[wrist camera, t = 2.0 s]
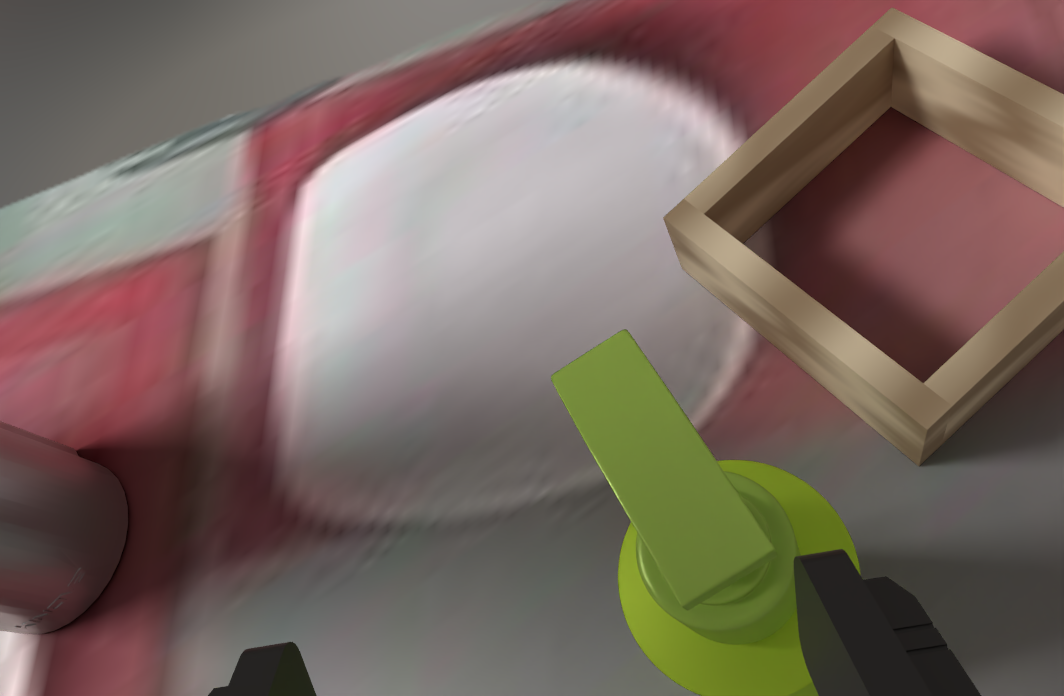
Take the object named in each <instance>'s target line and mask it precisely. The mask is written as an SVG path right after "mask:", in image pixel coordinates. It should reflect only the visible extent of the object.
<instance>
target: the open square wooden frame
mask: <svg viewBox="0 0 1064 696" xmlns="http://www.w3.org/2000/svg"><path fill="white" fill-rule="evenodd" d="M890 107H892V108H894V109H895V110H897V111H899V112H901V113H902V114H904V115H906V116H907V117H909V118H911V119H913V120H914V121H916V122H918V123H920V124H921V125H923V126H925V127H926V128H928V129H930V130H932V131H933V132H935V133H937V134H938V135H940V136H942V137H944V138H945V139H947V140H949V141H950V142H952V143H954V144H956V145H957V146H959V147H961V148H962V149H964V150H966V151H968V152H969V153H971V154H973V155H974V156H976V157H978V158H980V159H981V160H983V161H985V162H986V163H988V164H990V165H992V166H993V167H995V168H997V169H998V170H1000V171H1002V172H1004V173H1005V174H1007V175H1009V176H1010V177H1012V178H1014V179H1016V180H1017V181H1019V182H1021V183H1022V184H1024V185H1026V186H1028V187H1029V188H1031V189H1033V190H1034V191H1036V192H1038V193H1040V194H1041V195H1043V196H1045V197H1046V198H1048V199H1050V200H1052V201H1053V202H1055V203H1057V204H1059V205H1060V206H1062V207H1064V94H1062V93H1060V92H1058V91H1056V90H1054V89H1052V88H1050V87H1048V86H1046V85H1044V84H1042V83H1040V82H1038V81H1036V80H1034V79H1032V78H1030V77H1028V76H1026V75H1024V74H1022V73H1020V72H1018V71H1016V70H1014V69H1012V68H1010V67H1009V66H1007V65H1005V64H1003V63H1001V62H999V61H997V60H995V59H993V58H991V57H989V56H987V55H985V54H983V53H981V52H979V51H977V50H975V49H973V48H971V47H969V46H967V45H965V44H963V43H961V42H959V41H957V40H955V39H953V38H951V37H949V36H947V35H945V34H944V33H942V32H940V31H938V30H936V29H934V28H932V27H930V26H928V25H926V24H924V23H922V22H920V21H918V20H916V19H914V18H912V17H910V16H908V15H906V14H904V13H902V12H900V11H898V10H896V9H894V8H891V9H890V10H889V11H887V12H886V13H885V14H884V15H883V16H882V17H881V18H880V19H879V20H878V21H877V22H875V23H874V24H873V25H872V26H871V27H870V28H869V29H868V30H867V31H866V32H865V33H864V34H862V35H861V36H860V37H859V38H858V39H857V40H856V41H855V42H854V43H853V44H852V45H850V46H849V47H848V48H847V49H846V50H845V51H844V52H843V53H842V54H841V55H840V56H839V57H837V58H836V59H835V60H834V61H833V62H832V63H831V64H830V65H829V66H828V67H827V68H826V69H824V70H823V71H822V72H821V73H820V74H819V75H818V76H817V77H816V78H815V79H814V80H812V81H811V82H810V83H809V84H808V85H807V86H806V87H805V88H804V89H803V90H802V91H801V92H799V93H798V94H797V95H796V96H795V97H794V98H793V99H792V100H791V101H790V102H789V103H787V104H786V105H785V106H784V107H783V108H782V109H781V110H780V111H779V112H778V113H777V114H776V115H774V116H773V117H772V118H771V119H770V120H769V121H768V122H767V123H766V124H765V125H764V126H762V127H761V128H760V129H759V130H758V131H757V132H756V133H755V134H754V135H753V136H752V137H751V138H749V139H748V140H747V141H746V142H745V143H744V144H743V145H742V146H741V147H740V148H739V149H737V150H736V151H735V152H734V153H733V154H732V155H731V156H730V157H729V158H728V159H727V160H726V161H724V162H723V163H722V164H721V165H720V166H719V167H718V168H717V169H716V170H715V171H714V172H712V173H711V174H710V175H709V176H708V177H707V178H706V179H705V180H704V181H703V182H702V183H701V184H699V185H698V186H697V187H696V188H695V189H694V190H693V191H692V192H691V193H690V194H689V195H687V196H686V197H685V198H684V199H683V200H682V201H681V202H680V203H679V204H678V205H677V206H676V207H674V208H673V209H672V210H671V211H670V212H669V213H668V214H667V215H666V216H665V217H664V221H665V224H666V227H667V229H668V232H669V235H670V237H671V240H672V243H673V245H674V248H675V251H676V254H677V256H678V259H679V262H680V264H681V267H682V269H683V270H684V271H686V272H687V273H688V274H689V275H690V276H692V277H693V278H694V279H695V280H696V281H698V282H699V283H700V284H701V285H702V286H703V287H705V288H706V289H707V290H708V291H709V292H711V293H712V294H713V295H714V296H715V297H717V298H718V299H719V300H720V301H721V302H723V303H724V304H725V305H726V306H727V307H729V308H730V309H731V310H732V311H733V312H735V313H736V314H737V315H738V316H739V317H741V318H742V319H743V320H744V321H745V322H747V323H748V324H749V325H750V326H751V327H753V328H754V329H755V330H756V331H757V332H759V333H760V334H761V335H762V336H763V337H765V338H766V339H767V340H768V341H769V342H771V343H772V344H773V345H774V346H775V347H777V348H778V349H779V350H780V351H781V352H783V353H784V354H785V355H786V356H787V357H788V358H790V359H791V360H792V361H793V362H794V363H796V364H797V365H798V366H799V367H800V368H802V369H803V370H804V371H805V372H806V373H808V374H809V375H810V376H811V377H812V378H814V379H815V380H816V381H817V382H818V383H820V384H821V385H822V386H823V387H824V388H826V389H827V390H828V391H829V392H830V393H832V394H833V395H834V396H835V397H836V398H838V399H839V400H840V401H841V402H842V403H844V404H845V405H846V406H847V407H848V408H850V409H851V410H852V411H853V412H854V413H856V414H857V415H858V416H859V417H860V418H862V419H863V420H864V421H865V422H866V423H868V424H869V425H870V426H871V427H872V428H873V429H875V430H876V431H877V432H878V433H879V434H881V435H882V436H883V437H884V438H885V439H887V440H888V441H889V442H890V443H891V444H893V445H894V446H895V447H896V448H897V449H899V450H900V451H901V452H902V453H903V454H905V455H906V456H907V457H908V458H909V459H911V460H912V461H913V462H914V463H915V464H917V465H918V466H920V465H921V464H922V463H923V462H924V461H925V460H926V459H927V458H928V457H929V456H930V455H932V454H933V453H934V452H935V451H936V450H937V449H938V448H939V447H940V446H941V445H942V444H943V443H944V442H945V441H946V440H947V439H948V438H950V437H951V436H952V435H953V434H954V433H955V432H956V431H957V430H958V429H959V428H960V427H961V426H962V425H963V424H964V423H965V422H966V421H968V420H969V419H970V418H971V417H972V416H973V415H974V414H975V413H976V412H977V411H978V410H979V409H980V408H981V407H982V406H983V405H984V404H986V403H987V402H988V401H989V400H990V399H991V398H992V397H993V396H994V395H995V394H996V393H997V392H998V391H999V390H1000V389H1001V388H1002V387H1003V386H1005V385H1006V384H1007V383H1008V382H1009V381H1010V380H1011V379H1012V378H1013V377H1014V376H1015V375H1016V374H1017V373H1018V372H1019V371H1020V370H1021V369H1023V368H1024V367H1025V366H1026V365H1027V364H1028V363H1029V362H1030V361H1031V360H1032V359H1033V358H1034V357H1035V356H1036V355H1037V354H1038V353H1039V352H1041V351H1042V350H1043V349H1044V348H1045V347H1046V346H1047V345H1048V344H1049V343H1050V342H1051V341H1052V340H1053V339H1054V338H1055V337H1056V336H1057V335H1059V334H1060V333H1061V332H1062V331H1063V330H1064V252H1063V253H1061V254H1060V255H1059V256H1058V257H1057V258H1056V259H1055V260H1054V261H1053V262H1052V263H1051V264H1050V265H1049V266H1048V267H1047V268H1046V269H1044V270H1043V271H1042V272H1041V273H1040V274H1039V275H1038V276H1037V277H1036V278H1035V279H1034V280H1033V281H1032V282H1031V283H1030V284H1029V285H1027V286H1026V287H1025V288H1024V289H1023V290H1022V291H1021V292H1020V293H1019V294H1018V295H1017V296H1016V297H1015V298H1014V299H1013V300H1012V301H1010V302H1009V303H1008V304H1007V305H1006V306H1005V307H1004V308H1003V309H1002V310H1001V311H1000V312H999V313H998V314H997V315H996V316H994V317H993V318H992V319H991V320H990V321H989V322H988V323H987V324H986V325H985V326H984V327H983V328H982V329H981V330H980V331H979V332H977V333H976V334H975V335H974V336H973V337H972V338H971V339H970V340H969V341H968V342H967V343H966V344H965V345H964V346H963V347H962V348H960V349H959V350H958V351H957V352H956V353H955V354H954V355H953V356H952V357H951V358H950V359H949V360H948V361H947V362H946V363H945V364H943V365H942V366H941V367H940V368H939V369H938V370H937V371H936V372H935V373H934V374H933V375H932V376H931V377H930V378H929V379H928V380H926V381H925V382H924V383H922V382H921V381H919V380H918V379H917V378H916V377H914V376H913V375H912V374H910V373H909V372H908V371H907V370H905V369H904V368H903V367H901V366H900V365H899V364H897V363H896V362H895V361H894V360H892V359H891V358H890V357H888V356H887V355H886V354H884V353H883V352H882V351H881V350H879V349H878V348H877V347H875V346H874V345H873V344H872V343H870V342H869V341H868V340H866V339H865V338H864V337H862V336H861V335H860V334H859V333H857V332H856V331H855V330H853V329H852V328H851V327H849V326H848V325H847V324H846V323H844V322H843V321H842V320H840V319H839V318H838V317H837V316H835V315H834V314H833V313H831V312H830V311H829V310H827V309H826V308H825V307H824V306H822V305H821V304H820V303H818V302H817V301H816V300H815V299H813V298H812V297H811V296H809V295H808V294H807V293H805V292H804V291H803V290H802V289H800V288H799V287H798V286H796V285H795V284H794V283H792V282H791V281H790V280H789V279H787V278H786V277H785V276H783V275H782V274H781V273H780V272H778V271H777V270H776V269H774V268H773V267H772V266H770V265H769V264H768V263H767V262H765V261H764V260H763V259H761V258H760V257H759V256H757V255H756V254H755V253H754V252H752V251H751V250H750V249H748V248H747V247H746V246H745V245H743V243H744V242H745V241H746V240H747V239H749V238H750V237H751V236H752V235H753V234H754V233H755V232H756V231H757V230H758V229H759V228H760V227H761V226H763V225H764V224H765V223H766V222H767V221H768V220H769V219H770V218H771V217H772V216H773V215H774V214H776V213H777V212H778V211H779V210H780V209H781V208H782V207H783V206H784V205H785V204H786V203H787V202H789V201H790V200H791V199H792V198H793V197H794V196H795V195H796V194H797V193H798V192H799V191H800V190H801V189H803V188H804V187H805V186H806V185H807V184H808V183H809V182H810V181H811V180H812V179H813V178H814V177H816V176H817V175H818V174H819V173H820V172H821V171H822V170H823V169H824V168H825V167H826V166H827V165H828V164H830V163H831V162H832V161H833V160H834V159H835V158H836V157H837V156H838V155H839V154H840V153H841V152H843V151H844V150H845V149H846V148H847V147H848V146H849V145H850V144H851V143H852V142H853V141H854V140H856V139H857V138H858V137H859V136H860V135H861V134H862V133H863V132H864V131H865V130H866V129H867V128H868V127H870V126H871V125H872V124H873V123H874V122H875V121H876V120H877V119H878V118H879V117H880V116H881V115H883V114H884V113H885V112H886V111H887V110H888V109H889V108H890Z"/></svg>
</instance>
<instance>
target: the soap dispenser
mask: <svg viewBox="0 0 1064 696" xmlns="http://www.w3.org/2000/svg"><path fill="white" fill-rule="evenodd" d="M551 380H552V382H553V384H554V386H555V388H556V390H557V392H558V394H559V396H560V398H561V399H562V401H563V403H564V405H565V407H566V408H567V410H568V412H569V414H570V416H571V418H572V419H573V421H574V423H575V425H576V427H577V429H578V430H579V432H580V434H581V436H582V438H583V439H584V441H585V443H586V445H587V446H588V448H589V450H590V452H591V454H592V455H593V457H594V459H595V461H596V462H597V464H598V466H599V467H600V469H601V471H602V473H603V474H604V476H605V478H606V480H607V481H608V483H609V485H610V486H611V488H612V490H613V492H614V493H615V495H616V497H617V498H618V500H619V502H620V504H621V505H622V507H623V509H624V510H625V512H626V514H627V515H628V517H629V519H630V521H631V523H630V525H629V527H628V530H627V532H626V535H625V537H624V540H623V544H622V548H621V552H620V557H619V566H618V587H619V595H620V601H621V605H622V609H623V613H624V616H625V619H626V621H627V624H628V626H629V628H630V631H631V633H632V635H633V636H634V638H635V640H636V642H637V643H638V645H639V646H640V648H641V649H642V651H643V652H644V653H645V655H646V656H647V657H648V658H649V659H650V661H651V662H652V663H653V664H654V665H655V666H656V667H657V668H658V669H659V670H660V671H662V672H663V673H664V674H665V675H666V676H668V677H669V678H670V679H672V680H673V681H674V682H676V683H677V684H679V685H681V686H682V687H684V688H686V689H688V690H690V691H692V692H694V693H696V694H699V695H701V696H819V695H818V693H817V691H816V688H815V686H814V684H813V681H812V679H811V677H810V674H809V672H808V669H807V666H806V663H805V660H804V657H803V653H802V649H801V644H800V638H799V631H798V618H797V605H796V592H795V579H794V558H795V557H796V556H802V555H808V554H814V553H820V552H826V551H832V550H838V549H843V550H845V552H846V553H847V554H848V556H849V557H850V559H851V561H852V562H853V564H854V566H855V567H856V569H857V571H858V572H859V574H860V567H859V562H858V557H857V554H856V550H855V547H854V544H853V542H852V539H851V537H850V535H849V533H848V531H847V529H846V527H845V525H844V523H843V522H842V520H841V518H840V517H839V515H838V514H837V513H836V511H835V510H834V509H833V507H832V506H831V505H830V504H829V503H828V502H827V501H826V500H825V498H824V497H823V496H821V495H820V494H819V493H818V492H817V491H816V490H815V489H814V488H812V487H811V486H810V485H808V484H807V483H806V482H804V481H803V480H801V479H799V478H798V477H796V476H794V475H792V474H790V473H788V472H786V471H784V470H782V469H779V468H777V467H774V466H771V465H767V464H764V463H759V462H754V461H746V460H723V461H716V459H715V458H714V456H713V455H712V453H711V452H710V450H709V449H708V447H707V446H706V444H705V443H704V441H703V440H702V438H701V437H700V435H699V434H698V432H697V431H696V429H695V428H694V426H693V425H692V423H691V422H690V420H689V419H688V418H687V416H686V415H685V413H684V412H683V410H682V409H681V407H680V406H679V404H678V403H677V401H676V400H675V398H674V397H673V395H672V394H671V392H670V391H669V389H668V388H667V387H666V385H665V384H664V382H663V381H662V379H661V378H660V376H659V375H658V374H657V372H656V371H655V369H654V368H653V366H652V365H651V363H650V362H649V361H648V359H647V358H646V356H645V355H644V353H643V352H642V350H641V349H640V348H639V346H638V345H637V343H636V342H635V340H634V339H633V337H632V336H631V335H630V333H629V332H628V331H627V330H625V329H624V330H622V331H620V332H618V333H617V334H615V335H613V336H612V337H610V338H609V339H607V340H606V341H604V342H602V343H601V344H599V345H598V346H596V347H594V348H593V349H591V350H590V351H588V352H587V353H585V354H583V355H582V356H580V357H579V358H577V359H576V360H574V361H573V362H571V363H570V364H568V365H566V366H565V367H563V368H562V369H560V370H559V371H557V372H556V373H554V374H553V375H552V376H551ZM860 576H861V574H860Z"/></svg>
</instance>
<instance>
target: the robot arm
mask: <svg viewBox="0 0 1064 696" xmlns="http://www.w3.org/2000/svg"><path fill="white" fill-rule="evenodd" d="M127 528H128V505H127V501H126V497H125V492H124V490H123V488H122V486H121V484H120V482H119V480H118V479H117V477H116V476H115V475H114V474H113V473H112V472H111V471H110V470H109V469H107V468H105V467H104V466H102V465H100V464H98V463H95V462H93V461H90V460H87V459H84V458H82V457H79V456H78V454H77V452H76V450H75V449H74V448H71V447H68V446H66V445H63V444H60V443H57V442H55V441H52V440H49V439H47V438H44V437H41V436H39V435H36V434H33V433H31V432H28V431H25V430H23V429H20V428H17V427H15V426H12V425H9V424H6V423H4V422H1V421H0V631H7V632H15V633H23V634H43V633H47V632H51V631H55V630H57V629H59V628H61V627H63V626H65V625H67V624H69V623H70V622H72V621H73V620H74V619H76V618H77V617H78V616H79V615H81V614H82V613H83V612H85V611H86V610H87V609H88V607H89V606H90V605H91V604H92V603H93V602H94V601H95V600H96V599H97V598H98V597H99V595H100V594H101V592H102V591H103V589H104V588H105V587H106V585H107V584H108V582H109V581H110V579H111V577H112V575H113V573H114V571H115V569H116V567H117V565H118V563H119V560H120V557H121V554H122V551H123V548H124V545H125V541H126V534H127ZM794 579H795V592H796V605H797V618H798V631H799V638H800V644H801V649H802V653H803V657H804V660H805V663H806V666H807V669H808V672H809V674H810V677H811V679H812V681H813V684H814V686H815V688H816V691H817V693H818V695H819V696H981V695H980V693H979V692H978V690H977V689H976V687H975V686H974V684H973V683H972V681H971V680H970V678H969V677H968V675H967V674H966V672H965V671H964V669H963V668H962V666H961V665H960V663H959V662H958V660H957V659H956V657H955V656H954V654H953V653H952V651H951V650H948V648H947V644H946V642H945V641H944V639H943V638H942V636H941V635H940V633H939V632H938V630H937V629H936V628H934V627H933V624H932V621H931V620H930V618H929V617H928V615H927V614H926V612H925V611H924V609H923V608H922V606H921V605H920V603H919V602H918V600H917V599H916V597H915V596H913V595H912V594H910V593H909V592H908V591H906V590H905V589H903V588H902V587H900V586H899V585H898V584H896V583H895V582H893V581H892V580H891V579H889V578H888V577H880V578H874V579H868V580H863V579H862V577H861V576H860V574H859V572H858V571H857V569H856V567H855V566H854V564H853V562H852V561H851V559H850V557H849V556H848V554H847V553H846V552H845V550H843V549H838V550H832V551H826V552H820V553H814V554H808V555H802V556H796V557H795V558H794ZM208 696H316V693H315V691H314V688H313V685H312V683H311V680H310V677H309V675H308V672H307V669H306V667H305V664H304V661H303V659H302V656H301V654H300V651H299V649H298V647H297V646H296V644H295V643H293V642H287V643H281V644H275V645H269V646H263V647H257V648H251V649H246V650H245V651H244V652H243V653H242V654H241V656H240V658H239V661H238V663H237V666H236V668H235V671H234V673H233V676H232V678H231V680H230V683H229V685H228V686H226V687H220V688H214V689H213V690H212V691H211V693H210V694H209V695H208Z"/></svg>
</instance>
